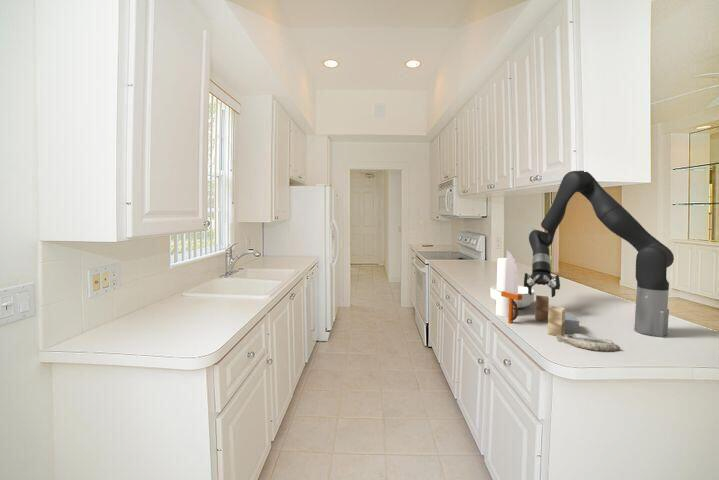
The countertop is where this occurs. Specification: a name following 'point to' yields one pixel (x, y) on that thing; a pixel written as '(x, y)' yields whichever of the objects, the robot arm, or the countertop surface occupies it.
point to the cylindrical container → (501, 289)
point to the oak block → (556, 321)
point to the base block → (571, 324)
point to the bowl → (521, 290)
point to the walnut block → (541, 308)
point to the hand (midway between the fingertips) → (541, 295)
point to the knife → (511, 286)
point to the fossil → (588, 342)
